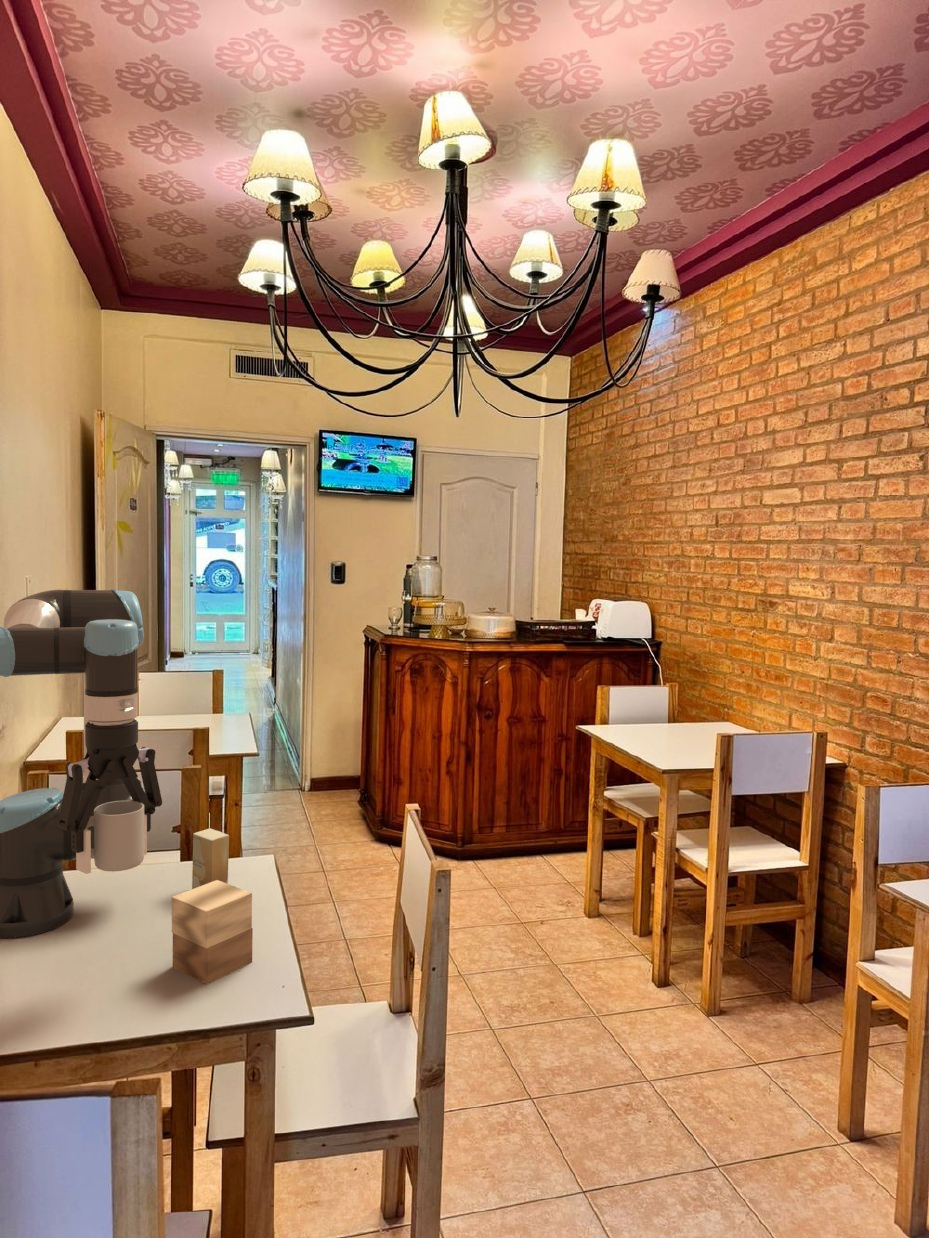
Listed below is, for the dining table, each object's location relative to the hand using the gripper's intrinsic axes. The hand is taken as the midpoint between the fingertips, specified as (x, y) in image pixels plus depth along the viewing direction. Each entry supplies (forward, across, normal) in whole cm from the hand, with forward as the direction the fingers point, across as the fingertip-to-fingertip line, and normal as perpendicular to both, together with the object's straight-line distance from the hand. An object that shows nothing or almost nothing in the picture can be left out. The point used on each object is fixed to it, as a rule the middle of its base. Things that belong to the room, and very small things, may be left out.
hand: (112, 861), depth 127 cm
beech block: (+14, +13, -8) cm, 20 cm away
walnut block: (+20, +13, -8) cm, 25 cm away
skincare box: (+20, +31, +15) cm, 40 cm away
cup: (+1, 0, 0) cm, 1 cm away
